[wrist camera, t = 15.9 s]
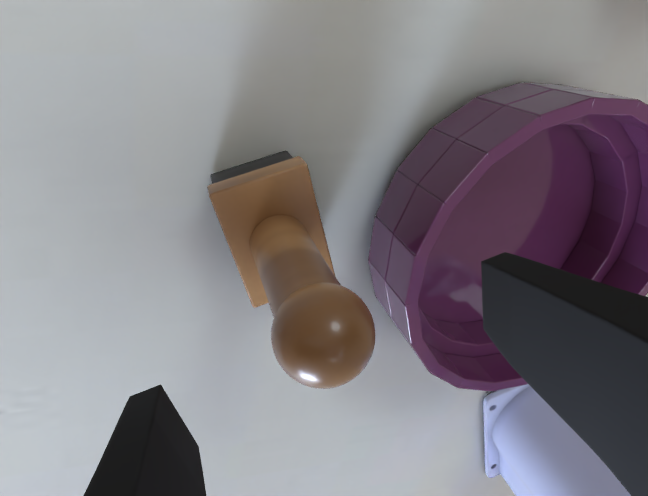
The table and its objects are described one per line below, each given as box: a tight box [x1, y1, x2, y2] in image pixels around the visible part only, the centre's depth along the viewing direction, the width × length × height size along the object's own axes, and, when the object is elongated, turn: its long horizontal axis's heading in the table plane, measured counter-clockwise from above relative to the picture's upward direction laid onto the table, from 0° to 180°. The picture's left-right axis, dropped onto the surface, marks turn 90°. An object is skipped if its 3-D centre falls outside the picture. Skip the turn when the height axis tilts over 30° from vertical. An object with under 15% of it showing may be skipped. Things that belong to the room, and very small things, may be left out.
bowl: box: [368, 82, 648, 391], centre depth 21 cm, size 14×14×4 cm
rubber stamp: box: [207, 151, 375, 389], centre depth 15 cm, size 5×4×10 cm
